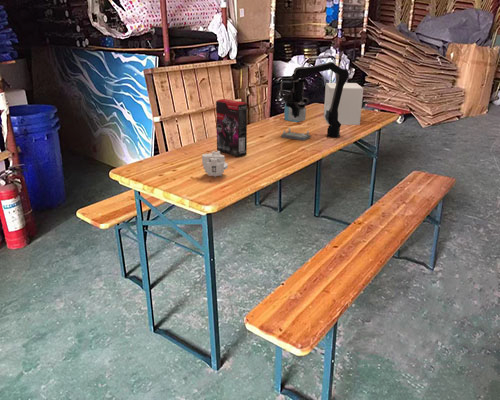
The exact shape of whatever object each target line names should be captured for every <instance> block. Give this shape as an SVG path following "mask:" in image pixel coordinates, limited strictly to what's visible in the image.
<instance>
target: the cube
mask: <svg viewBox="0 0 500 400" xmlns="http://www.w3.org/2000/svg"><path fill="white" fill-rule="evenodd" d="M335 87H336V82H325V92H324V107H323V118H324V120H325V122H326V124H327V125H328V126H329V123H328V122H327V121H326V117H325V115H326V110H328V111H329V109H330V108H331V104H332V99H333V95H334V91H335ZM363 97H364V87H362V86H361V85H359V84H358V83H357V82H346V83H345V84H344V86H343V90H342V94H341V98H340V102H339V107H338V121H339V122H340V124H341V126H344V125H345V126H360V125H361V118H362V114H361V113H362V106H363Z"/></svg>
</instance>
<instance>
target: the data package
mask: <svg viewBox="0 0 500 400" xmlns="http://www.w3.org/2000/svg"><path fill="white" fill-rule="evenodd" d="M283 114H284V121H286V122H287V121H288V122H293V123H300V122H301V121H297V120H290V119H288V118H289V107H286V103H285V104H284V112H283Z"/></svg>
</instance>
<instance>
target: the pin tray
mask: <svg viewBox="0 0 500 400" xmlns="http://www.w3.org/2000/svg"><path fill="white" fill-rule="evenodd" d="M282 133H283V134H281V135H280V138H281V139H282V138H283V139H289V140H290V139H291V140H295V141H296V140H297V141H301V142H304V141H306V140H308V139H310V138H311V137H312V136H311V134H310V131H309V130H307V131H306V134H305V132H302V133H300V132H294V131H293V132H292V131H291V128H290V127H289V128H288V131H286V130H285V129H283V132H282Z"/></svg>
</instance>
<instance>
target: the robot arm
mask: <svg viewBox="0 0 500 400" xmlns="http://www.w3.org/2000/svg"><path fill="white" fill-rule="evenodd" d="M329 70H330V71H332V72H333V73H334V74H335V83H336V87H335V91H334V95H333V99H332V104H331V108H330V109H329V111H328V110H326V115H325V117H326V120H325V122H326V121H327V122H328V123H329V125H328V128H327V132H326V137H329V138H335V139H336V138H339V137H341V134H340V133H341V132H340V131H341V126H342V125H341V124H340V122H339V121H338V107H339V102H340V98H341V94H342V90H343V86H344V84H345V83H347V81H348V78H349V77H350V72H349V71H348V69H345V68H342V67H340V66H338V65H337V64H336V63H335V62H333V61H329V62H326V63H321V64H320V63H319V64H317V65H311V66H298V67H295V69H294V70H293V73H292V74H291V76H290V77H286V78H285V77H282V78H281V81H280V91H292V89H293V91H292V92H291V94H288V93H287V94H283V98H282V100H283V101H284V102H285V104H286V107H290V108H291V109H292V111H293V115H294V118H296V117H297V114H298V111H299V108H300V107H302V108H306V107H307V104H309V103H310V99H309V98H307V97H304V95H305V91H304V89H305V87H304V85H305V83H308V80H307V79H306V77H308V76H310V75H312V74H317V73H322V72H326V71H329ZM327 122H326V123H327Z"/></svg>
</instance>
